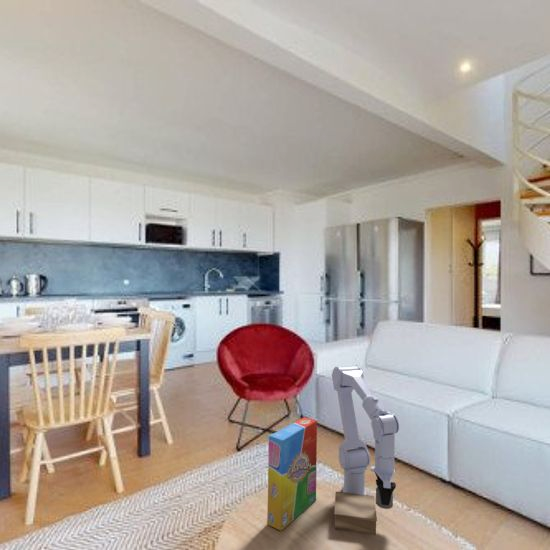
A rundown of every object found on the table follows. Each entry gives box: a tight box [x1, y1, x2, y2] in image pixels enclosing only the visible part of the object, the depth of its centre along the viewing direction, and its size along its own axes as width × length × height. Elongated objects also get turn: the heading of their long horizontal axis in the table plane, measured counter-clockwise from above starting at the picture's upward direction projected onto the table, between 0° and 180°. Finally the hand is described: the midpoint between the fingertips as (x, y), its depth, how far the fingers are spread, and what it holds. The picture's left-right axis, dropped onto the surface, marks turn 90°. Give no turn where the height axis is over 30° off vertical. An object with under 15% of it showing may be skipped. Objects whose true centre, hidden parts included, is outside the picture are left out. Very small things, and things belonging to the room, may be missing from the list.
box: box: [334, 516, 377, 535], centre depth 117 cm, size 12×12×4 cm
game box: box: [266, 417, 318, 531], centre depth 121 cm, size 21×6×27 cm, turn 143°
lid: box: [334, 490, 378, 522], centre depth 117 cm, size 12×12×1 cm
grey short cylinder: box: [375, 486, 394, 510], centre depth 114 cm, size 5×5×4 cm
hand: (384, 499), depth 114 cm, fingers closed on grey short cylinder, 5 cm apart
